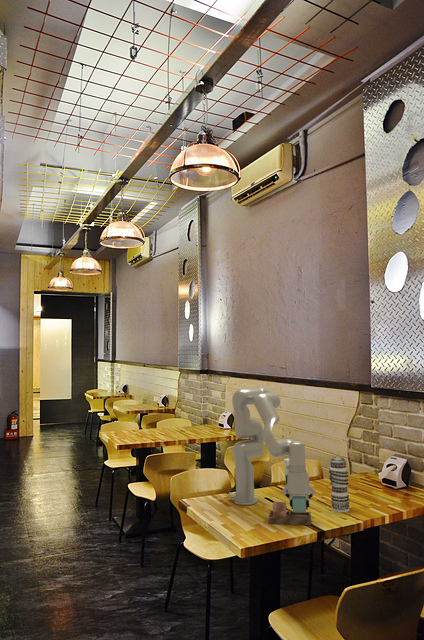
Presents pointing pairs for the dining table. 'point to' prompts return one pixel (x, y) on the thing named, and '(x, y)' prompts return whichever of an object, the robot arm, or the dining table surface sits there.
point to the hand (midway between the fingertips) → (299, 508)
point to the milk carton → (286, 462)
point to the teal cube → (299, 503)
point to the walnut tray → (288, 515)
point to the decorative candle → (339, 484)
